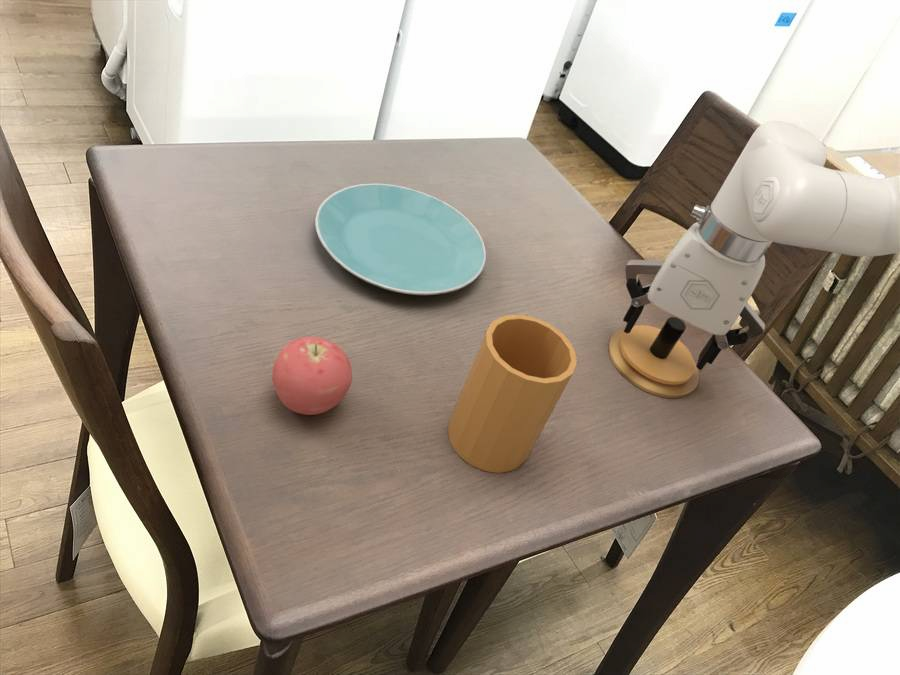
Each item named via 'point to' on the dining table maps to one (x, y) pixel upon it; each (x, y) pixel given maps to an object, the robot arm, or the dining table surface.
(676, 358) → the shaker lid
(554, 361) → the cup
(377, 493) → the dining table surface
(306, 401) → the apple
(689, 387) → the coaster
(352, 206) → the plate
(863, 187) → the robot arm
